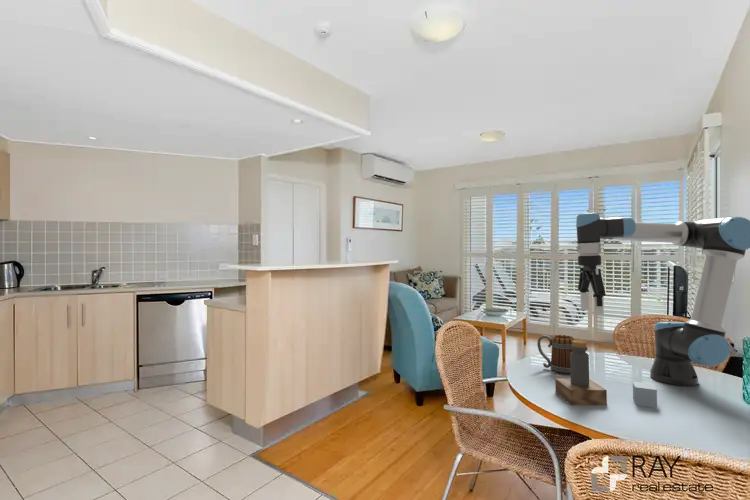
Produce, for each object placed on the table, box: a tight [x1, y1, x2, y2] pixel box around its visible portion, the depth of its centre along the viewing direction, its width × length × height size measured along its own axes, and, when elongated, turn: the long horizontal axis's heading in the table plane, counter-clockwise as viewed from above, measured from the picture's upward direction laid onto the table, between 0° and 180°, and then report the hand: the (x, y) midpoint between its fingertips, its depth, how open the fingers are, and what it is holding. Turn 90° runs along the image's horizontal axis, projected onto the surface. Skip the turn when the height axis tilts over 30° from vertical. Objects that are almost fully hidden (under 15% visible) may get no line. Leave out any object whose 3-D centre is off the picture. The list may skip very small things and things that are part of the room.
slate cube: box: [632, 381, 658, 409], centre depth 133 cm, size 6×6×6 cm
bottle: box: [570, 339, 590, 387], centre depth 138 cm, size 6×6×15 cm
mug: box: [536, 334, 575, 376], centre depth 169 cm, size 16×11×15 cm
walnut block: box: [554, 377, 608, 406], centre depth 138 cm, size 12×12×5 cm
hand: (591, 312), depth 145 cm, fingers open, 13 cm apart
